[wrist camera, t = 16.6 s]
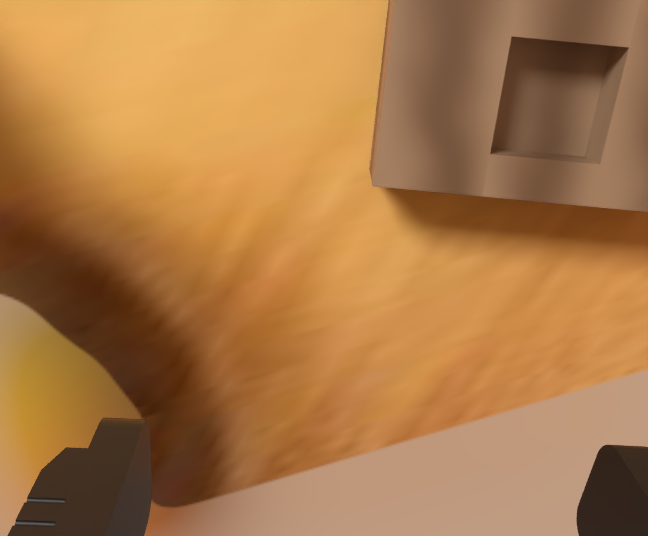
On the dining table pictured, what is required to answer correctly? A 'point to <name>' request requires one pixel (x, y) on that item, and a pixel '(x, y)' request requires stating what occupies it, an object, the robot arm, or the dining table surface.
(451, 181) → the brown recessed block
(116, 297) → the dining table surface
